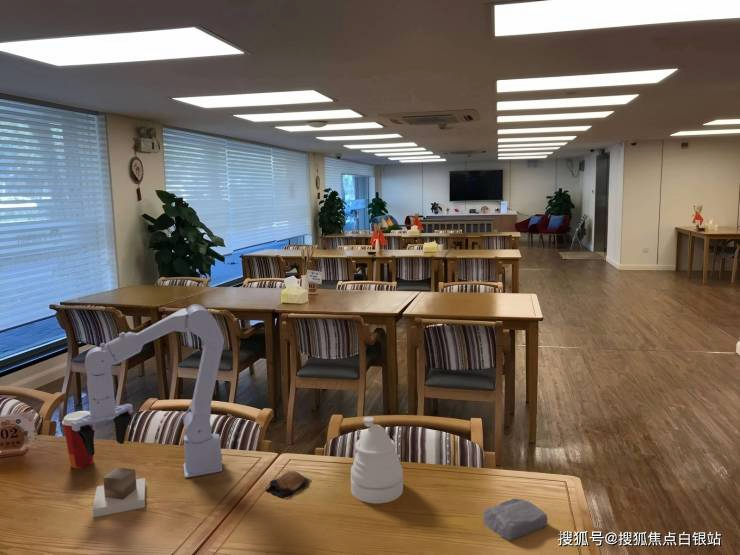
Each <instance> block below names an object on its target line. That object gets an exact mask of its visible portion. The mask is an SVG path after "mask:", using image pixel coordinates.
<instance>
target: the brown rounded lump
mask: <svg viewBox="0 0 740 555" xmlns="http://www.w3.org/2000/svg"><path fill="white" fill-rule="evenodd" d="M311 482H312V479H311V478H309V477H305V476H304V475H302V473H301V474H300V473H299V472H298V471H294V470H291V471H290V470H289V471H287V472H285V473H284V474H281V476H279V477H277V478H275V479H273V480H270V481H269V487H268V488H266V489H265V492H266V493H269V494H271V495H273V496H275V497H277V498H282V499H284V498H290V497H292V496H293V495H295V494H297V493H298V492H300V491H301V490H303V489H304V488H305V487H307V486H308V485H309V484H310V483H311Z"/></svg>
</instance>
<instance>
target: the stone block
mask: <svg viewBox="0 0 740 555" xmlns="http://www.w3.org/2000/svg"><path fill="white" fill-rule="evenodd" d="M547 516H548V515H547V513H545V511H543V510H542V509H541V508H539V507H537V505H535V504H534V503H532V502H530V501H529V500H524V499H522V498H521V499H519V498H512V499H509V500H505V501H503V502H501V503H499V504H497V505H494V506H492V507H488V508H485V509H484V511H483V515H482V517H483V522H484V525H486V527H487V528H488V529H489V530H491V531H492V532H494V533H496V534H498V535H499V536H500V537H502V538H504V539H505V540H506V541H509V542H510V541H514V540H516V539H519V538H521V537H525V536H526V535H528V534H531V533H533V532H536V531H537V532H538V531H540V530H541V529H543V528H544V527H546V526H547V524H548V519H549V518H548V517H547Z"/></svg>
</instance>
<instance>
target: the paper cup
mask: <svg viewBox="0 0 740 555" xmlns="http://www.w3.org/2000/svg"><path fill="white" fill-rule="evenodd" d="M88 414H90V410H79V411H78V410H77V411H74V412H70V413H67V414H66V415H65V416H63V420H62V421H61V423H62V425H63V428H64V435H65V441H66V446H67V452H68V453H67V454H68V457H69V462H70V467H71V468H72V469H83V468H87V467H90V466H91V465H92V464H94V456H95V454H94V455H89V454H88V453H87V450H86V447H85V445H84V443H83V441H82V439H81V438H80V436H79V435H78V434H77V432H76V431H74V430H72V424H71V422H73V421H76V420H78V419H80V418H82V417H84V416H86V415H88ZM90 427H91V429H92V430H94V424H93V425H90Z"/></svg>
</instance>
